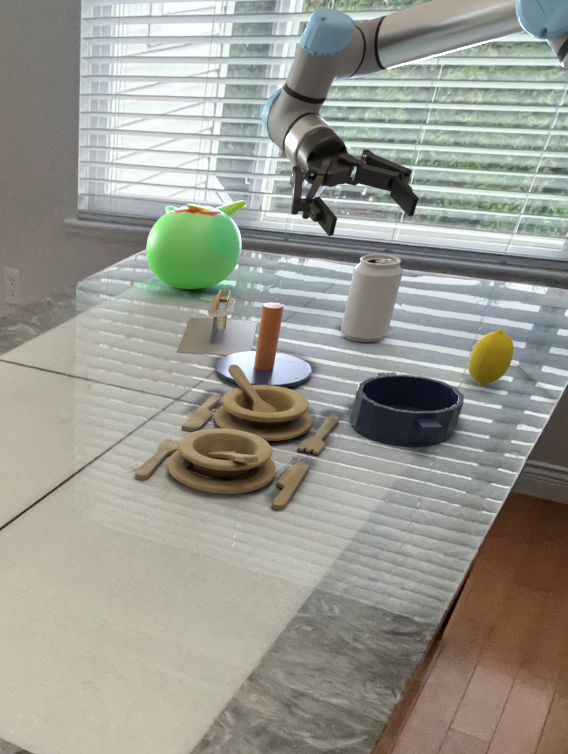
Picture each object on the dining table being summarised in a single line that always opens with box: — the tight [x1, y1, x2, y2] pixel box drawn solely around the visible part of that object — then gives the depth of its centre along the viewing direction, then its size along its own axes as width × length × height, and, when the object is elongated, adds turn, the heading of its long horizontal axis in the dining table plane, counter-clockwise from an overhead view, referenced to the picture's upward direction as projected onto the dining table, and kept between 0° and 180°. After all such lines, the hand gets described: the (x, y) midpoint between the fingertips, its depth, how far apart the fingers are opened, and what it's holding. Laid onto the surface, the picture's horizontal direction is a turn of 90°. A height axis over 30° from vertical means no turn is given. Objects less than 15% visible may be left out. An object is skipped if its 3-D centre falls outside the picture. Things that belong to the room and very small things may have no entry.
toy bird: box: [145, 200, 247, 290], centre depth 161 cm, size 18×17×15 cm
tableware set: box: [134, 365, 340, 511], centre depth 110 cm, size 30×20×6 cm, turn 151°
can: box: [340, 253, 404, 343], centre depth 138 cm, size 8×8×12 cm
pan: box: [349, 371, 465, 448], centre depth 114 cm, size 13×19×4 cm
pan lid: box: [215, 301, 313, 388], centre depth 127 cm, size 14×14×10 cm
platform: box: [176, 288, 258, 356], centre depth 142 cm, size 12×18×7 cm, turn 165°
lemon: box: [467, 329, 514, 387], centre depth 122 cm, size 6×6×8 cm
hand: (373, 217), depth 132 cm, fingers open, 13 cm apart
